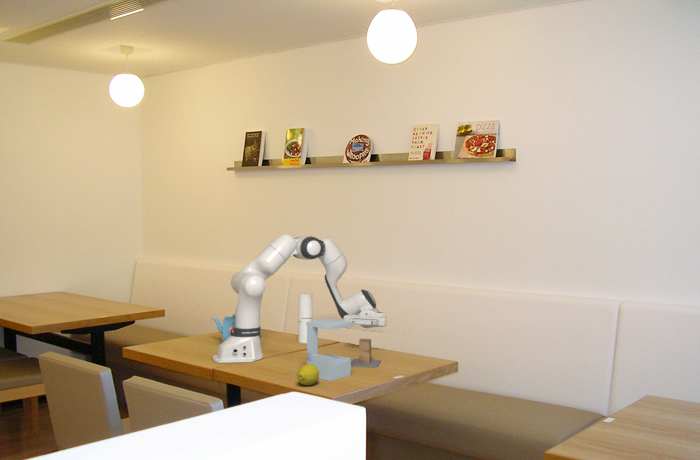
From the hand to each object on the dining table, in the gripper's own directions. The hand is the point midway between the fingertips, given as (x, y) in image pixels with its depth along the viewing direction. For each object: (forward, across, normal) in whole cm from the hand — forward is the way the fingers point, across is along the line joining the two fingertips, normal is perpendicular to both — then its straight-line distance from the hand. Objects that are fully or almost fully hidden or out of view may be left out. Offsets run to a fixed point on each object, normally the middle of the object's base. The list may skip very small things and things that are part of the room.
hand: (362, 322), depth 286 cm
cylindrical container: (-32, -35, +17) cm, 50 cm away
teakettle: (-19, -68, +18) cm, 73 cm away
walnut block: (+11, +4, +16) cm, 20 cm away
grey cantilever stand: (+34, -6, +17) cm, 39 cm away
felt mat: (+11, +4, +16) cm, 20 cm away
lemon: (+52, -11, +18) cm, 56 cm away
